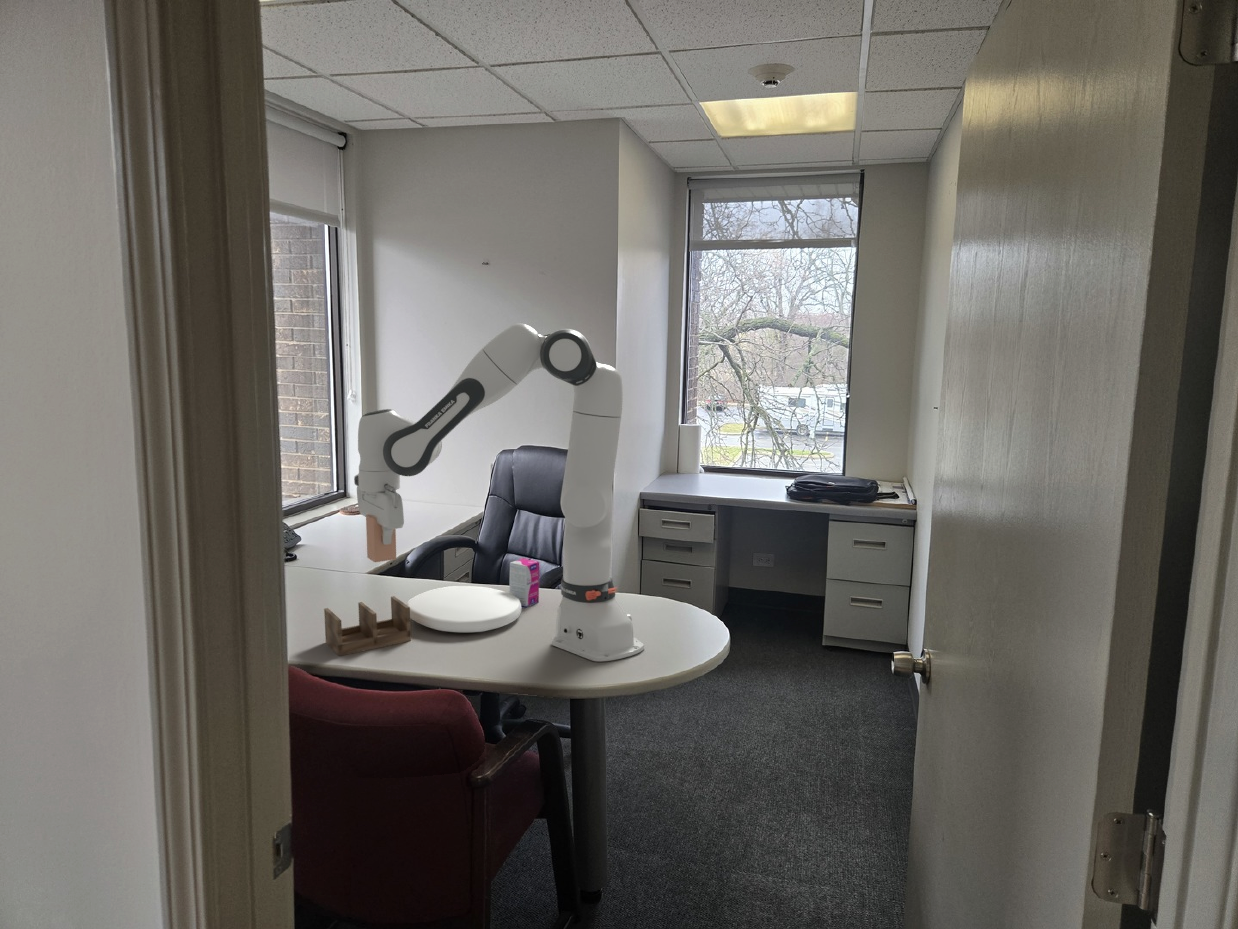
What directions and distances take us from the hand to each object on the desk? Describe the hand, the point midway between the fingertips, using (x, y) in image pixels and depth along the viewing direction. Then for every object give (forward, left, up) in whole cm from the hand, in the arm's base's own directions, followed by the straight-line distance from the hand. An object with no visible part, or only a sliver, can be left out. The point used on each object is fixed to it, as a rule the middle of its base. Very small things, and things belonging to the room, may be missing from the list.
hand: (381, 540), depth 187 cm
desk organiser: (0, +4, -23) cm, 24 cm away
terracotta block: (0, 0, -4) cm, 4 cm away
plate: (+2, -21, -24) cm, 32 cm away
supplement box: (+4, -39, -24) cm, 46 cm away
